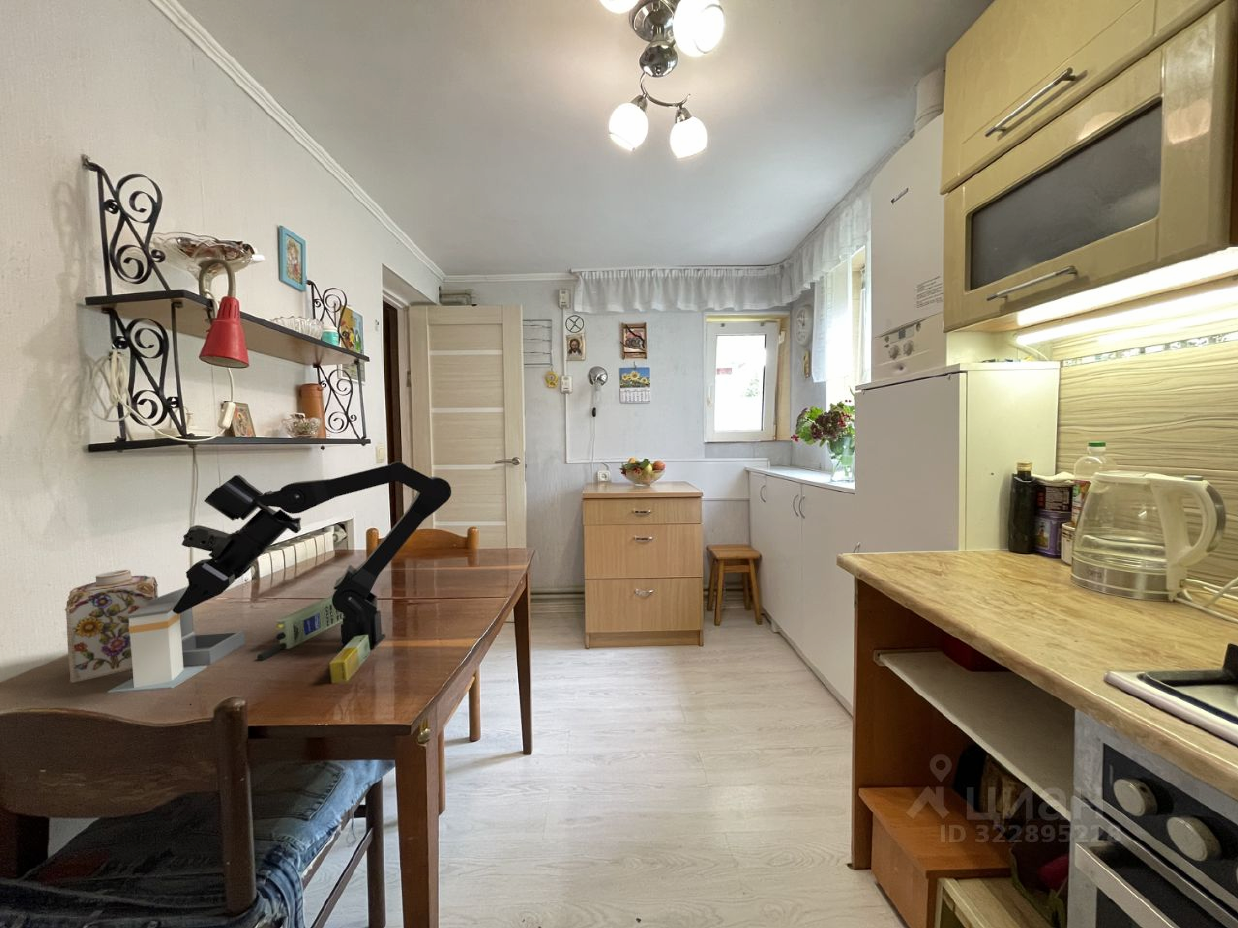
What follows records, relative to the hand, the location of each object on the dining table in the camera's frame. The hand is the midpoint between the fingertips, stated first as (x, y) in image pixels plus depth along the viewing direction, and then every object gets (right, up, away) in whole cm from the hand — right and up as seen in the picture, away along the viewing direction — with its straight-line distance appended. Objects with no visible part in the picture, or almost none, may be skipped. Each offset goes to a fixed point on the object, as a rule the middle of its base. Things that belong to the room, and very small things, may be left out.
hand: (185, 604), depth 87 cm
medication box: (+29, -12, +2) cm, 31 cm away
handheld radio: (+11, -12, +17) cm, 24 cm away
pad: (-3, -13, -1) cm, 14 cm away
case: (-4, -13, +9) cm, 16 cm away
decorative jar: (-18, -14, +6) cm, 24 cm away
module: (-3, -13, -1) cm, 13 cm away
